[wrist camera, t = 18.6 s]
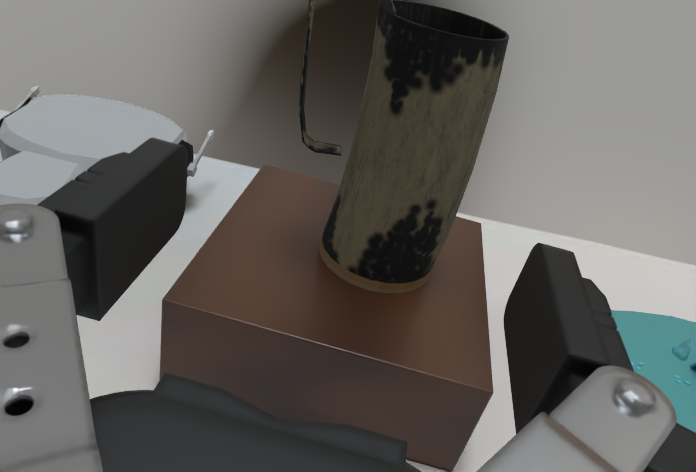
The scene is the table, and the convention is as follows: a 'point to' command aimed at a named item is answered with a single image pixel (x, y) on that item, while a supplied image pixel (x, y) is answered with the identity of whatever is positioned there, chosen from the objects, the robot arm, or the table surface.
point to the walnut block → (331, 325)
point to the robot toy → (73, 141)
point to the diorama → (663, 357)
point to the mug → (409, 143)
